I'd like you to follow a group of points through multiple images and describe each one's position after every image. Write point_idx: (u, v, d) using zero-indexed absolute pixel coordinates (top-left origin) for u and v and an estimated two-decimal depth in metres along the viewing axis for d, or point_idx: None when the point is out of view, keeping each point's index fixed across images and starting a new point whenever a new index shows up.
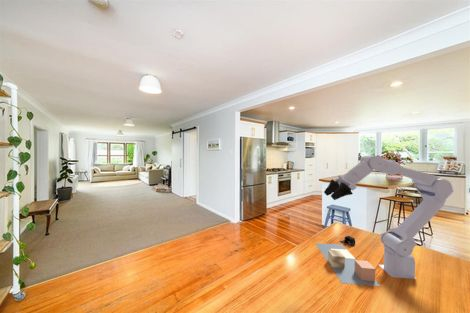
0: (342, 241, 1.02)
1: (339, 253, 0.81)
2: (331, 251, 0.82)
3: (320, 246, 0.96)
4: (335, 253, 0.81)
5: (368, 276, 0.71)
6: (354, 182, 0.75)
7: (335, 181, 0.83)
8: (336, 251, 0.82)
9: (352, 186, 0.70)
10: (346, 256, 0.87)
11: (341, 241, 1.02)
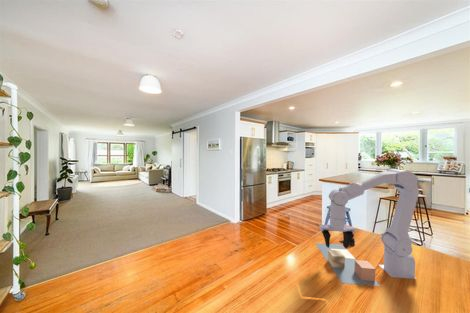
0: (342, 241, 1.02)
1: (339, 253, 0.81)
2: (331, 251, 0.82)
3: (320, 246, 0.96)
4: (335, 253, 0.81)
5: (368, 276, 0.71)
6: (332, 223, 0.80)
7: None
8: (336, 251, 0.82)
9: (319, 227, 0.82)
10: (346, 256, 0.87)
11: (341, 241, 1.03)
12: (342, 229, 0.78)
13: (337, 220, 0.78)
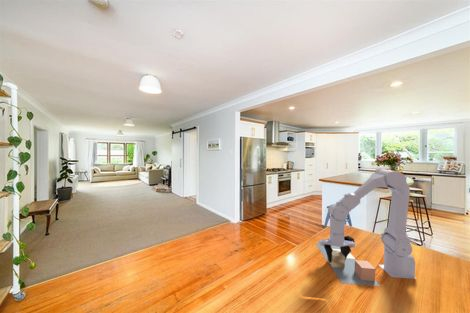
0: None
1: (339, 253, 0.81)
2: None
3: (320, 246, 0.96)
4: (335, 253, 0.81)
5: (368, 276, 0.71)
6: (331, 237, 0.80)
7: None
8: (336, 251, 0.82)
9: (319, 242, 0.82)
10: None
11: None
12: (342, 244, 0.78)
13: (337, 235, 0.78)
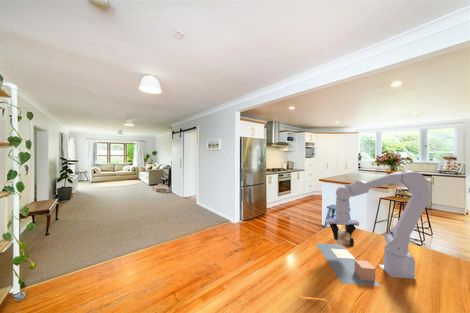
0: None
1: (344, 231, 0.87)
2: None
3: (320, 246, 0.96)
4: (340, 231, 0.87)
5: (368, 276, 0.71)
6: (337, 217, 0.86)
7: None
8: (341, 230, 0.88)
9: (326, 221, 0.88)
10: (346, 256, 0.87)
11: None
12: (347, 222, 0.84)
13: (342, 214, 0.84)
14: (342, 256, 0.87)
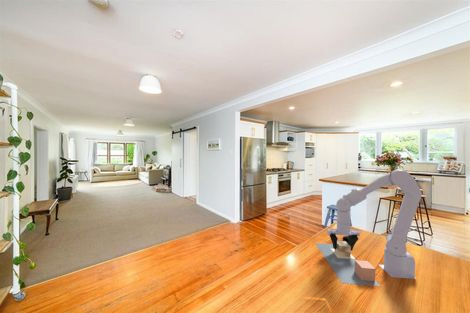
0: None
1: (345, 243, 0.89)
2: (338, 242, 0.91)
3: (320, 246, 0.96)
4: (341, 243, 0.89)
5: (368, 276, 0.71)
6: (338, 227, 0.88)
7: None
8: (342, 242, 0.90)
9: (327, 231, 0.90)
10: None
11: None
12: (348, 233, 0.86)
13: (343, 225, 0.86)
14: (342, 256, 0.87)
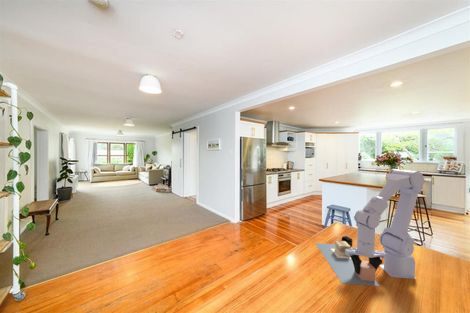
0: None
1: (345, 243, 0.89)
2: (338, 242, 0.91)
3: (320, 246, 0.96)
4: (341, 243, 0.89)
5: (368, 276, 0.71)
6: (360, 247, 0.72)
7: None
8: (342, 242, 0.90)
9: (345, 252, 0.74)
10: None
11: None
12: (372, 255, 0.70)
13: (366, 245, 0.70)
14: (342, 256, 0.87)
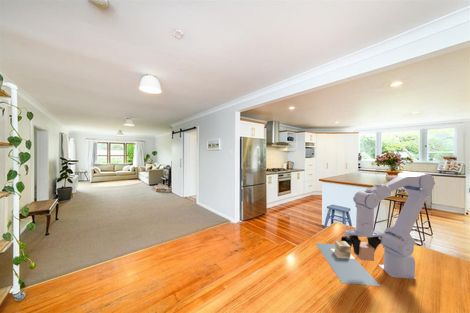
0: None
1: (345, 243, 0.89)
2: (338, 242, 0.91)
3: (320, 246, 0.96)
4: (341, 243, 0.89)
5: (367, 256, 0.72)
6: (359, 228, 0.73)
7: None
8: (342, 242, 0.90)
9: (345, 232, 0.75)
10: None
11: None
12: (371, 235, 0.71)
13: (365, 225, 0.71)
14: (342, 256, 0.87)
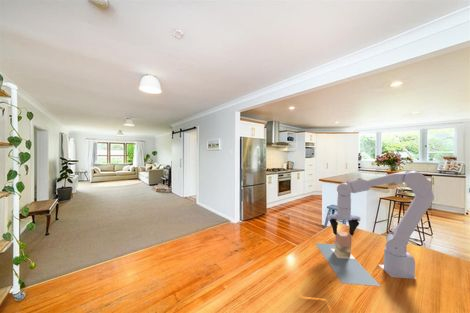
0: None
1: None
2: None
3: (320, 246, 0.96)
4: None
5: (345, 243, 0.86)
6: (339, 212, 0.88)
7: None
8: None
9: (327, 216, 0.90)
10: None
11: None
12: (348, 218, 0.86)
13: (344, 209, 0.86)
14: (342, 256, 0.87)
